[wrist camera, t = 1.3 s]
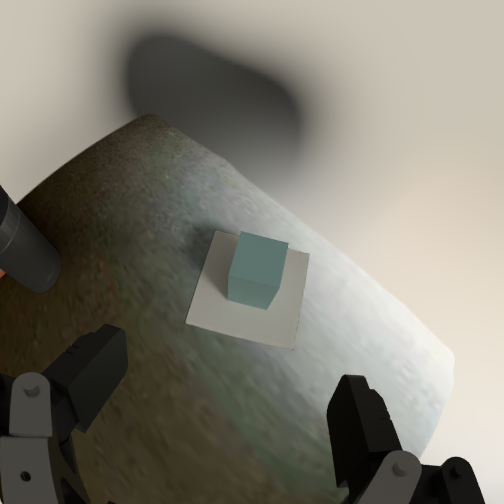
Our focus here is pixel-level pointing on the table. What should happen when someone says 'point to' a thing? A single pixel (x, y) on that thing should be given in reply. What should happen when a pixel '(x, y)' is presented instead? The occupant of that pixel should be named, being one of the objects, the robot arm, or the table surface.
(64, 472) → the robot arm
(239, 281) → the teal block
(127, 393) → the table surface
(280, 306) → the card
